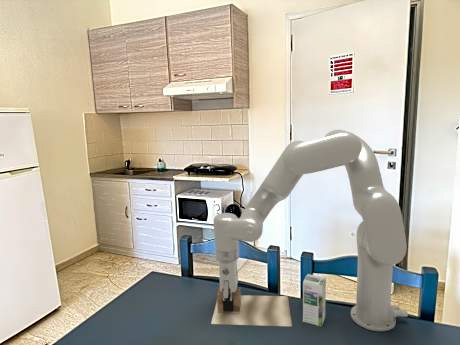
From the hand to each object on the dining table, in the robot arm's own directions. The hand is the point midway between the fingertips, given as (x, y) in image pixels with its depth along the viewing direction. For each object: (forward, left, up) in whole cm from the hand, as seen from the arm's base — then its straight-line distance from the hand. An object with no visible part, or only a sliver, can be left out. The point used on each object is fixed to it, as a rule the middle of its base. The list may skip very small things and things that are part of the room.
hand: (229, 305), depth 104 cm
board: (-7, 0, -3) cm, 8 cm away
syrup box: (-26, +4, -3) cm, 27 cm away
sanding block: (0, 0, -1) cm, 1 cm away
